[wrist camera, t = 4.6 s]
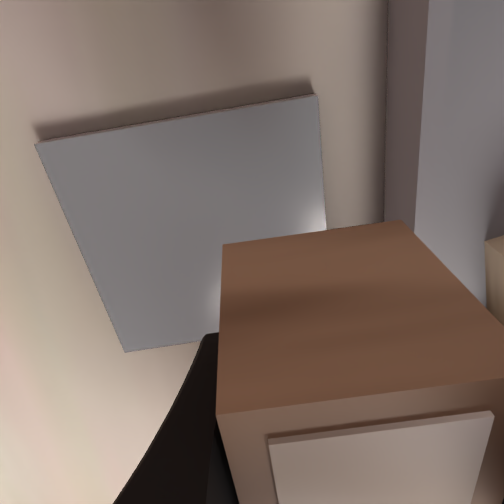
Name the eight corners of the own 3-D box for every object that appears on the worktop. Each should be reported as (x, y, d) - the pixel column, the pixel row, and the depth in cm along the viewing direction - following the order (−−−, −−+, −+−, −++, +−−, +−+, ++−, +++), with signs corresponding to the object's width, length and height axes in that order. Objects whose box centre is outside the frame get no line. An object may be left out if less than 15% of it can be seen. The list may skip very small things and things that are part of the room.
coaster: (329, 313, 20) (332, 320, 20) (127, 344, 21) (124, 352, 20) (314, 93, 15) (318, 95, 14) (40, 140, 15) (34, 144, 15)
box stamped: (391, 352, 12) (492, 545, 7) (246, 371, 12) (257, 574, 7) (400, 219, 9) (553, 377, 5) (222, 244, 10) (215, 421, 5)
